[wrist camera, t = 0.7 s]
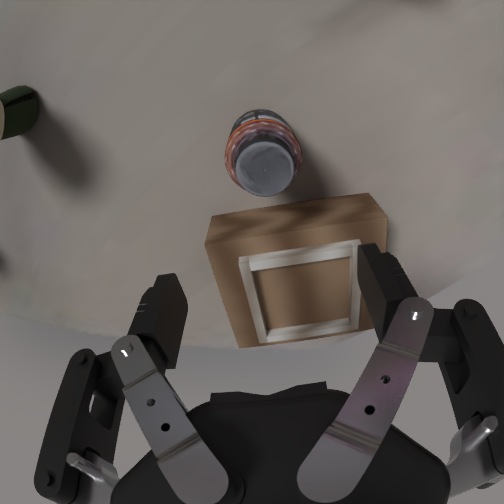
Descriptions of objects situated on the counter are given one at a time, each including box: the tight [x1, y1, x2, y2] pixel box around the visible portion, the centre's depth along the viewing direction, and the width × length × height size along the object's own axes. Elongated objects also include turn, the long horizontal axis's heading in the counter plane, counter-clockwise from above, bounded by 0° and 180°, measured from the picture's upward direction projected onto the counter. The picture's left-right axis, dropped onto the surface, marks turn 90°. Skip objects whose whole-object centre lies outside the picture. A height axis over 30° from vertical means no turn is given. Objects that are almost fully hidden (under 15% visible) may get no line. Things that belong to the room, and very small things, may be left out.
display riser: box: [205, 193, 388, 348], centre depth 35 cm, size 18×16×7 cm
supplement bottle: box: [225, 109, 302, 197], centre depth 25 cm, size 6×6×11 cm
